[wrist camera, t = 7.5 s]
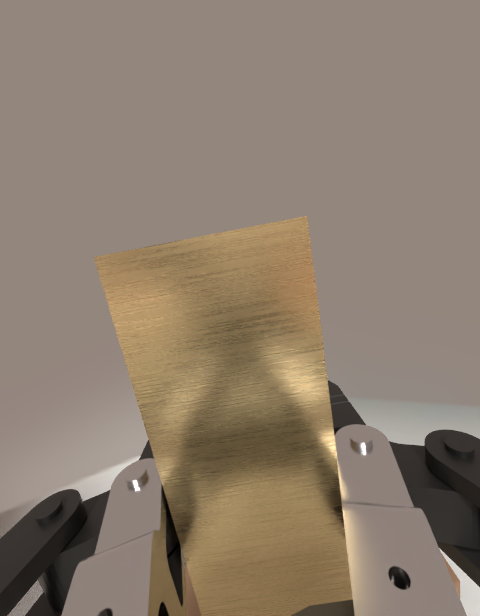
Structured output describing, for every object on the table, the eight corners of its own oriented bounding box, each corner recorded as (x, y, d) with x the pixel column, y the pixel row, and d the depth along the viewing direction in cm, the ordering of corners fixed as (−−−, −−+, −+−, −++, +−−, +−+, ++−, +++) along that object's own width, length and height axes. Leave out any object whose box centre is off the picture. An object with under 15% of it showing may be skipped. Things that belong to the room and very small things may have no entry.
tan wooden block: (234, 725, 8) (93, 257, 5) (235, 568, 12) (157, 253, 9) (368, 708, 8) (307, 215, 5) (324, 555, 12) (276, 230, 9)
